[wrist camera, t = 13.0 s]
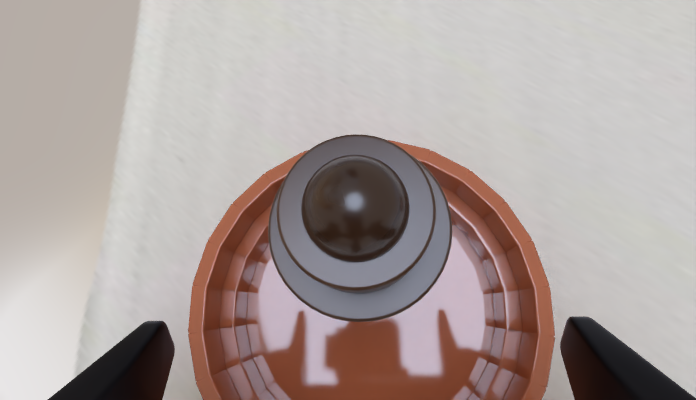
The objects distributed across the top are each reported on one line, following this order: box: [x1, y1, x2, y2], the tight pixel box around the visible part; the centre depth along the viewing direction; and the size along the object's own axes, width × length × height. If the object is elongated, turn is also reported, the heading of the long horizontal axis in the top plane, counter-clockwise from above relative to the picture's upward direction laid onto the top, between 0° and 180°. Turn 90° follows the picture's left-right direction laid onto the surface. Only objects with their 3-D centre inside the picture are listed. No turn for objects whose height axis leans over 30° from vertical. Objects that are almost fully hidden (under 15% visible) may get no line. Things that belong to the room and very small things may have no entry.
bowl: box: [188, 140, 555, 400], centre depth 18 cm, size 13×13×4 cm
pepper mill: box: [268, 135, 452, 322], centre depth 13 cm, size 4×4×13 cm
